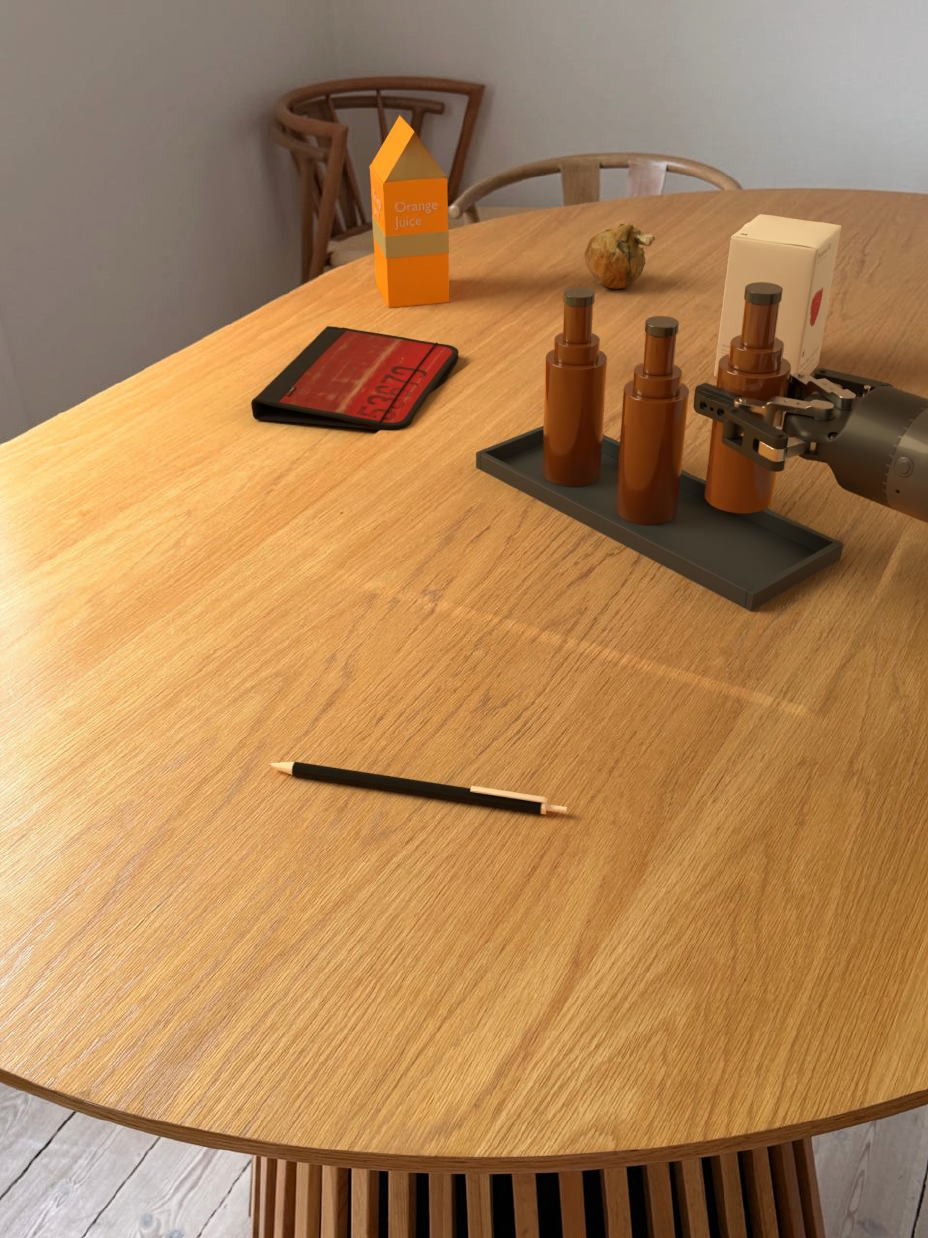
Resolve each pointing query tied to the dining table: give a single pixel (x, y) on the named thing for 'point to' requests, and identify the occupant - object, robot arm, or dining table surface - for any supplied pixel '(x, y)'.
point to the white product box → (783, 282)
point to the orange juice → (409, 221)
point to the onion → (617, 255)
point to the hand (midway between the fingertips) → (723, 385)
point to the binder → (356, 381)
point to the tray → (677, 526)
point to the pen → (423, 787)
